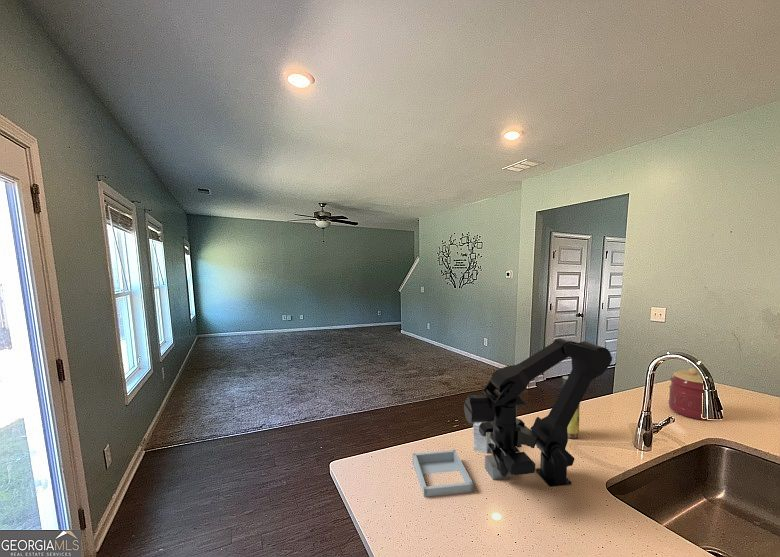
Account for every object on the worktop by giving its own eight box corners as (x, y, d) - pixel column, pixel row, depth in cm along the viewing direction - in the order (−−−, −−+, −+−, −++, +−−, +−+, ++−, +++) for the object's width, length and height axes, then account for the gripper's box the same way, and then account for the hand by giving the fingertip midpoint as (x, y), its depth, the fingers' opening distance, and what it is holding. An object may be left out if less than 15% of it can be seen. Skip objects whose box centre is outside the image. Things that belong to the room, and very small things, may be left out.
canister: (680, 417, 115) (683, 372, 113) (661, 402, 127) (663, 361, 126) (724, 423, 111) (727, 376, 110) (699, 406, 123) (702, 364, 122)
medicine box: (487, 454, 94) (487, 427, 94) (472, 450, 97) (473, 423, 96) (492, 441, 101) (493, 416, 100) (479, 437, 103) (479, 412, 103)
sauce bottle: (582, 440, 101) (584, 382, 99) (561, 438, 102) (563, 381, 101) (574, 429, 107) (576, 375, 106) (555, 427, 108) (556, 374, 107)
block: (510, 479, 82) (510, 465, 82) (492, 481, 82) (493, 467, 82) (501, 467, 87) (501, 454, 87) (484, 468, 87) (485, 455, 87)
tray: (473, 497, 77) (473, 484, 77) (424, 502, 76) (424, 489, 76) (455, 460, 91) (455, 449, 91) (412, 464, 90) (412, 453, 90)
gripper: (556, 437, 72) (554, 499, 73) (513, 400, 90) (512, 451, 91) (513, 441, 70) (511, 505, 71) (478, 403, 89) (477, 454, 90)
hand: (503, 475), depth 81 cm, fingers closed
